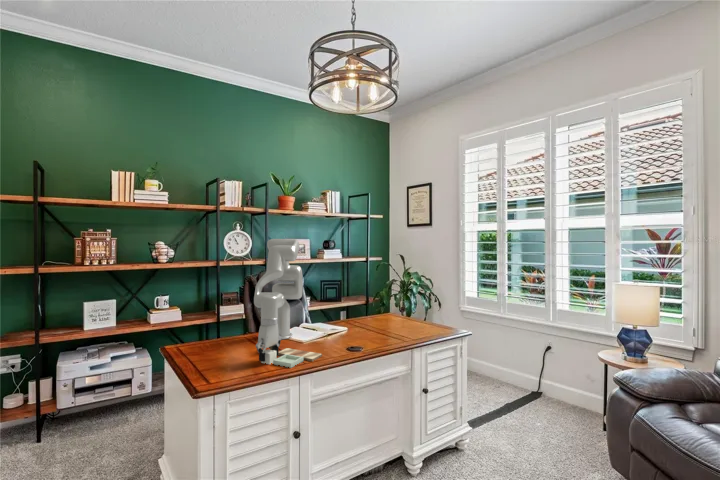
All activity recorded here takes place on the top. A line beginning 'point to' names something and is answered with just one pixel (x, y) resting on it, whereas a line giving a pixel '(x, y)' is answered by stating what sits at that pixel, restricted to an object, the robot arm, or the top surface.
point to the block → (270, 356)
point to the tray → (288, 360)
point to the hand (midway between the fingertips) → (268, 358)
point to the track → (300, 354)
